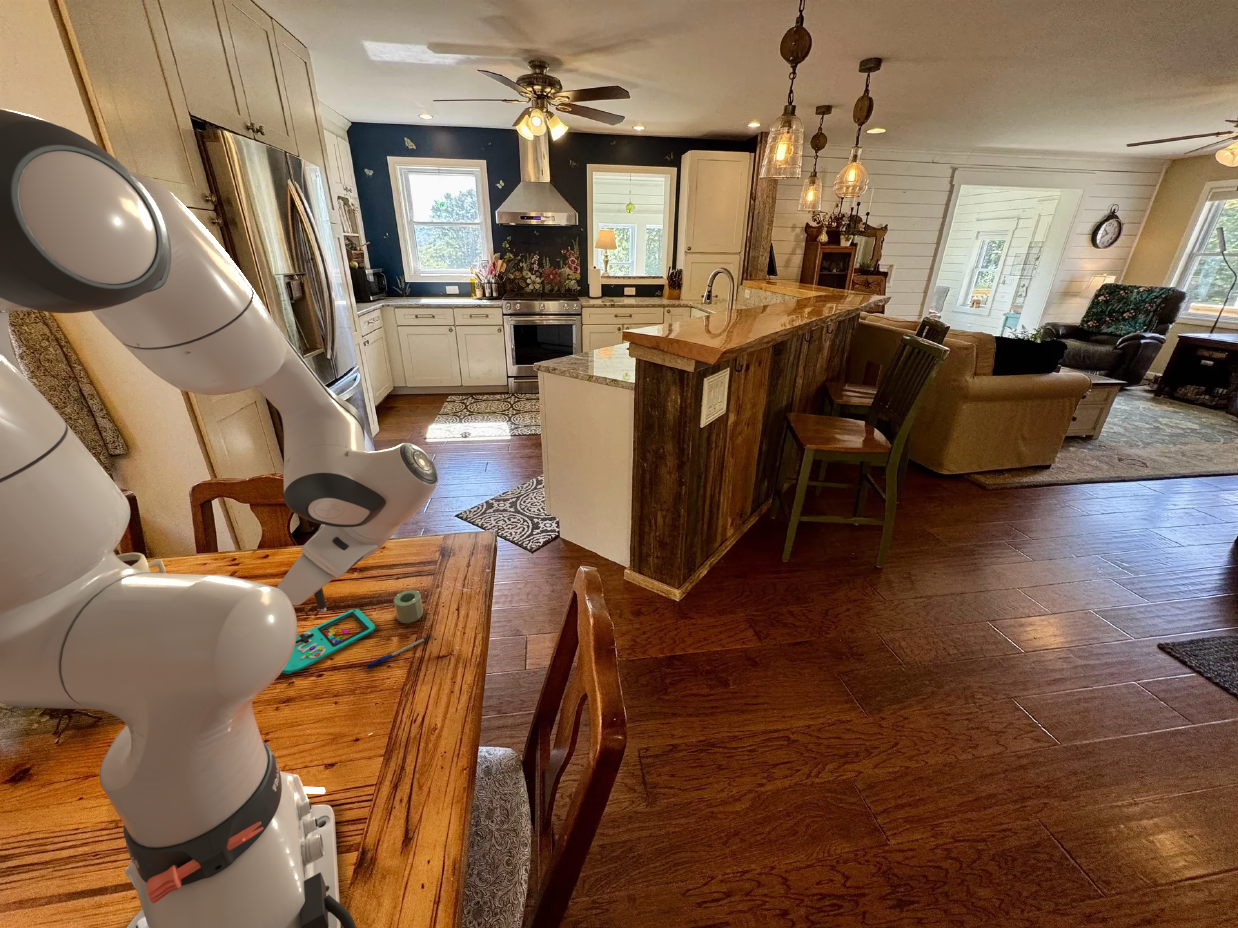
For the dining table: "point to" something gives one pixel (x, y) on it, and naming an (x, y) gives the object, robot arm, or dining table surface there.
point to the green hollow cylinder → (408, 606)
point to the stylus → (320, 600)
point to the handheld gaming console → (324, 641)
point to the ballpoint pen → (393, 654)
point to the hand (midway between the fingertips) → (310, 577)
